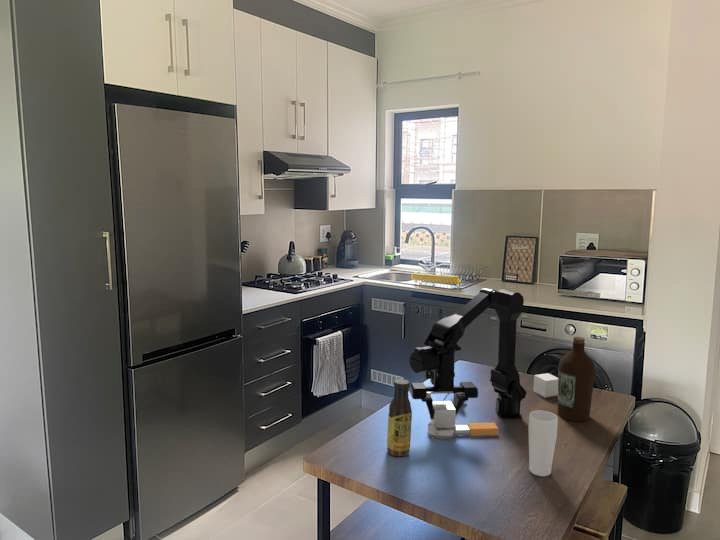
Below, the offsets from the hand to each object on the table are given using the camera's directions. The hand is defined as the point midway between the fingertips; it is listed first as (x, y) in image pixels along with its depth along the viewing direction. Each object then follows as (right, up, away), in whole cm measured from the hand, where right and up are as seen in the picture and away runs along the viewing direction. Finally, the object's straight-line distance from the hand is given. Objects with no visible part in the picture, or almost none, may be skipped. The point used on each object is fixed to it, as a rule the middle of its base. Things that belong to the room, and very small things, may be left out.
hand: (442, 418), depth 153 cm
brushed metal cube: (0, -1, 0) cm, 1 cm away
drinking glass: (+22, -8, -19) cm, 30 cm away
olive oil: (+43, -3, +14) cm, 45 cm away
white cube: (+41, 0, +31) cm, 51 cm away
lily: (+8, -1, +24) cm, 25 cm away
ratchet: (+6, -5, +1) cm, 8 cm away
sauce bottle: (-13, -6, -10) cm, 18 cm away
